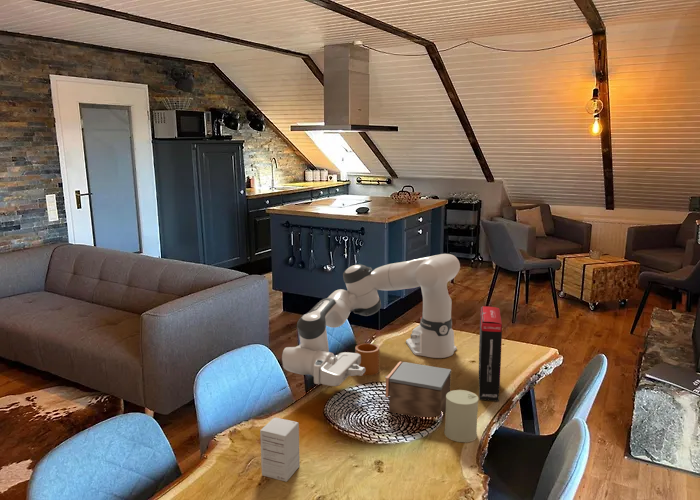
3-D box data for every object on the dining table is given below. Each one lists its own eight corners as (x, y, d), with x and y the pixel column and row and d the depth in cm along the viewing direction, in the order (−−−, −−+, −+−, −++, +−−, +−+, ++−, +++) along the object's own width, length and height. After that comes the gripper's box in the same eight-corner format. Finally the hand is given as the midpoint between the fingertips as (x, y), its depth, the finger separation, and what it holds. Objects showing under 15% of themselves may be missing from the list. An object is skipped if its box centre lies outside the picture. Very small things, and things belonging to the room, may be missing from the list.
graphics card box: (499, 403, 176) (504, 322, 170) (477, 401, 177) (481, 320, 172) (496, 380, 192) (500, 306, 187) (476, 379, 193) (480, 305, 188)
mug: (388, 366, 204) (388, 344, 202) (370, 378, 195) (371, 354, 193) (368, 360, 209) (368, 338, 207) (350, 371, 200) (350, 348, 198)
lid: (385, 396, 169) (386, 377, 168) (399, 379, 182) (399, 361, 180) (440, 407, 162) (441, 387, 161) (450, 387, 175) (451, 369, 174)
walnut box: (389, 412, 169) (389, 382, 167) (402, 393, 182) (403, 365, 180) (439, 422, 163) (440, 391, 161) (449, 402, 176) (451, 373, 174)
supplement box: (275, 460, 144) (274, 416, 141) (300, 466, 141) (299, 421, 139) (260, 475, 137) (259, 429, 135) (286, 482, 134) (285, 435, 132)
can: (482, 440, 154) (484, 401, 151) (451, 444, 152) (453, 404, 149) (468, 424, 162) (470, 386, 160) (439, 427, 161) (441, 389, 158)
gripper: (337, 362, 193) (374, 368, 188) (312, 386, 175) (352, 393, 170) (337, 345, 192) (374, 351, 187) (312, 367, 173) (352, 374, 168)
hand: (363, 371), depth 178 cm, fingers closed
